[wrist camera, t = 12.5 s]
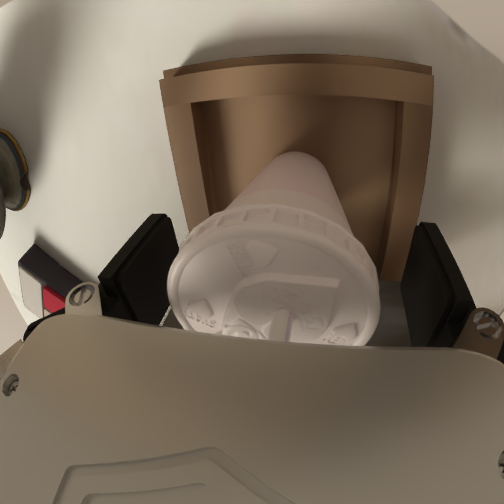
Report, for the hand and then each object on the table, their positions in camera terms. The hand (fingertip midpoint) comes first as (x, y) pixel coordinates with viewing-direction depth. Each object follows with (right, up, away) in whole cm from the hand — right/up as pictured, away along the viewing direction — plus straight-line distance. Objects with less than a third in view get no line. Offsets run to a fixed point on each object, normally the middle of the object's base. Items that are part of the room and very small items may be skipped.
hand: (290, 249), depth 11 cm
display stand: (+2, +5, +6) cm, 8 cm away
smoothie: (+1, +4, +5) cm, 7 cm away
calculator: (-24, -6, +22) cm, 33 cm away
